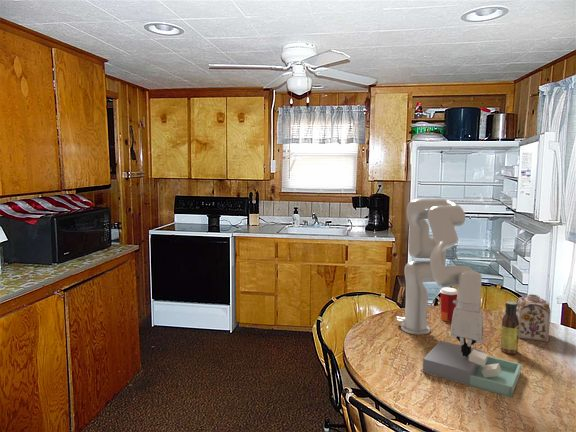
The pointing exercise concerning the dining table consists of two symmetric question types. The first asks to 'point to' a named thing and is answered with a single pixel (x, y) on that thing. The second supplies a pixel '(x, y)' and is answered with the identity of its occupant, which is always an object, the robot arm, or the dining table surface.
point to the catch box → (498, 377)
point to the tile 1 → (478, 357)
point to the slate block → (450, 363)
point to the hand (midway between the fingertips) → (465, 355)
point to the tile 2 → (491, 370)
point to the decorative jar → (533, 318)
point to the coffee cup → (448, 303)
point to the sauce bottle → (510, 329)
